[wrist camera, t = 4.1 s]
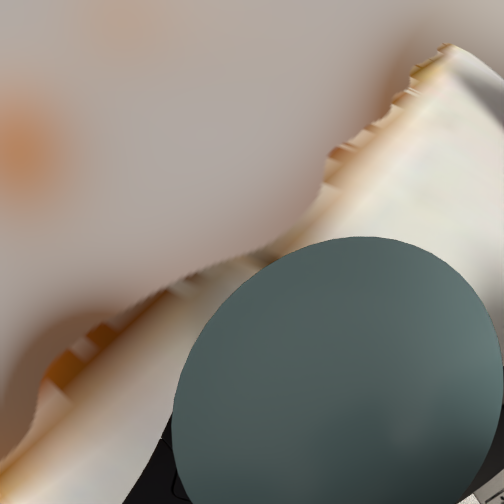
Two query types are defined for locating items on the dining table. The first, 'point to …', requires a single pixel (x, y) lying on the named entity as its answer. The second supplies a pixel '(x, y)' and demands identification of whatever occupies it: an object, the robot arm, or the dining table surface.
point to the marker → (341, 382)
